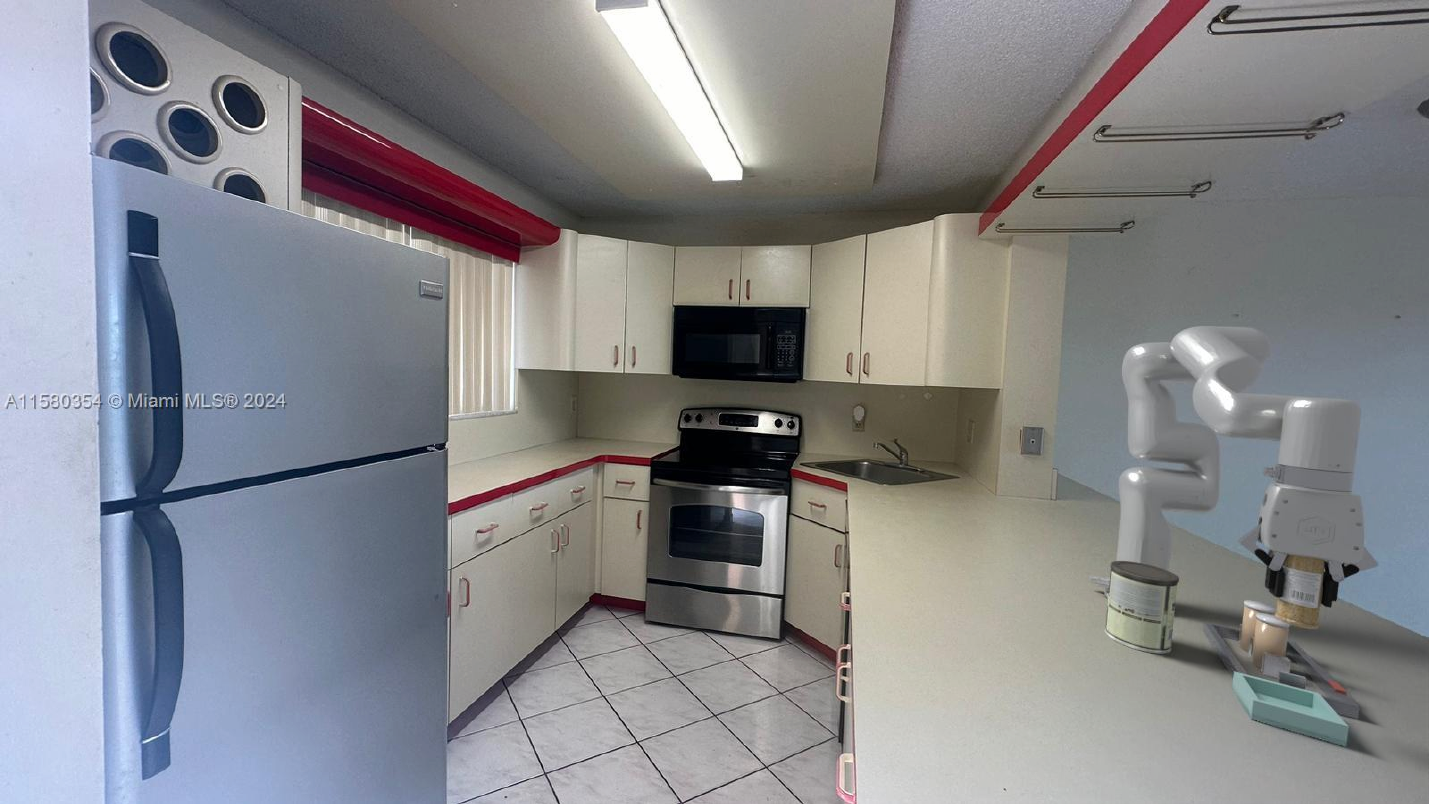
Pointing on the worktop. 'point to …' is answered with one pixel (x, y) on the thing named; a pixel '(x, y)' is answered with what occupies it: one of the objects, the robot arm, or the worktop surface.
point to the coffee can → (1141, 606)
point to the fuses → (1263, 631)
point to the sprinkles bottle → (1301, 591)
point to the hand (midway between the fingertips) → (1298, 598)
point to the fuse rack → (1282, 668)
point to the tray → (1289, 708)
